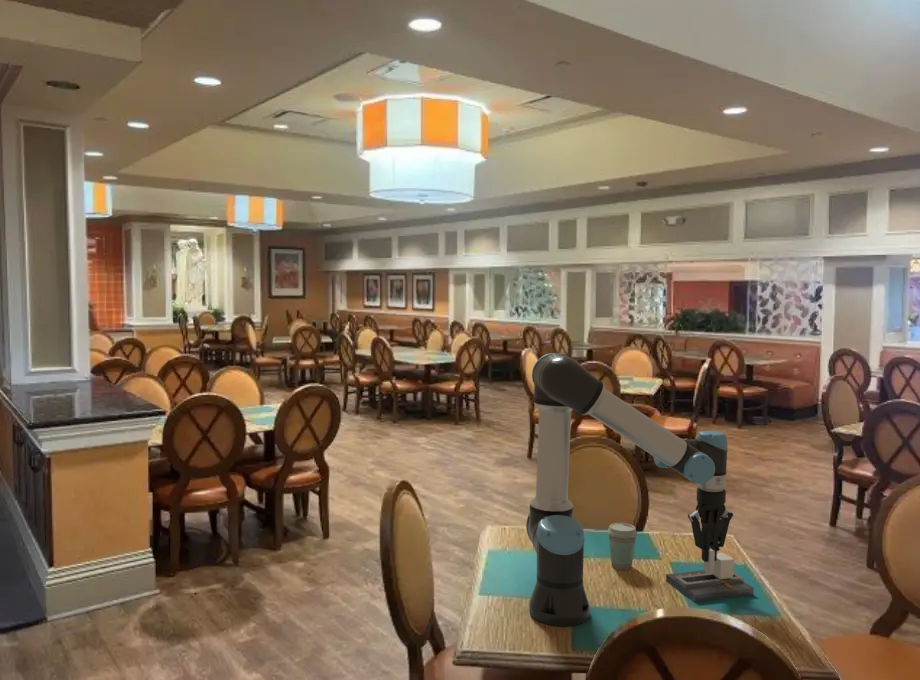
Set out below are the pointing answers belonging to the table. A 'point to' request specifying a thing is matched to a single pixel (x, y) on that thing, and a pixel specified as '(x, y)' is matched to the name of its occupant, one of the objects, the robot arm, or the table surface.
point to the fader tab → (723, 566)
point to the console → (708, 586)
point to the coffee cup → (622, 545)
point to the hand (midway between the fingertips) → (708, 572)
